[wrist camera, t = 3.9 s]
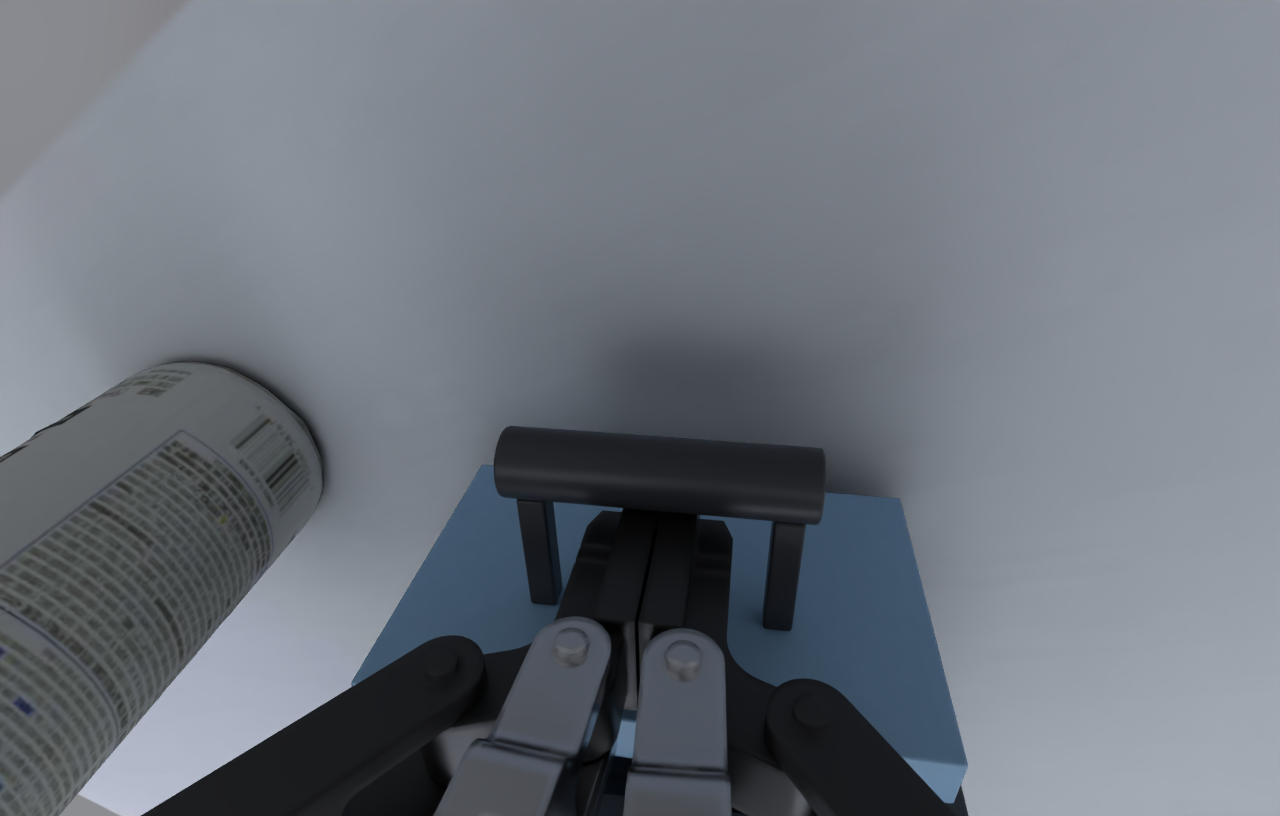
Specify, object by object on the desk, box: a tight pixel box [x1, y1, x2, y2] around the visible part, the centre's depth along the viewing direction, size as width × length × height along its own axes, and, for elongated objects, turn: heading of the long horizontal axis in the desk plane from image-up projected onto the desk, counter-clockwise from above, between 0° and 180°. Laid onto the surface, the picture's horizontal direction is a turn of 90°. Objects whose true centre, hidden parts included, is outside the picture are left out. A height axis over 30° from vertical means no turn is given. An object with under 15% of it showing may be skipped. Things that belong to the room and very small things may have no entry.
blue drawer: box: [351, 426, 968, 814], centre depth 18 cm, size 18×11×7 cm, turn 1°
